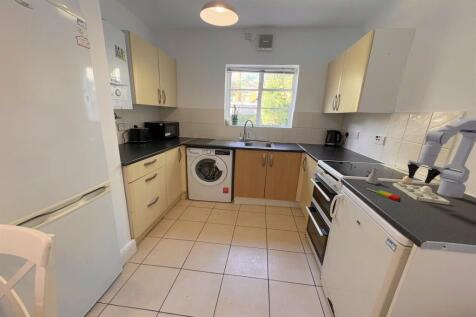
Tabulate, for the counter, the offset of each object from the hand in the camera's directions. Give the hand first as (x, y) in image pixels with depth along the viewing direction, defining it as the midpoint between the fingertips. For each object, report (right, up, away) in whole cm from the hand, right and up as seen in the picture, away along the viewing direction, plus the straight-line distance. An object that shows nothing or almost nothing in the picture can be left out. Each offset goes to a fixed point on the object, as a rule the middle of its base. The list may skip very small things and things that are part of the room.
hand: (418, 180), depth 95 cm
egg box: (+9, -9, +9) cm, 16 cm away
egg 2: (+12, -9, +9) cm, 17 cm away
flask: (-7, -4, +24) cm, 25 cm away
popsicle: (-15, -9, +6) cm, 18 cm away
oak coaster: (+16, -6, +25) cm, 30 cm away
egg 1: (+16, -5, +25) cm, 30 cm away
